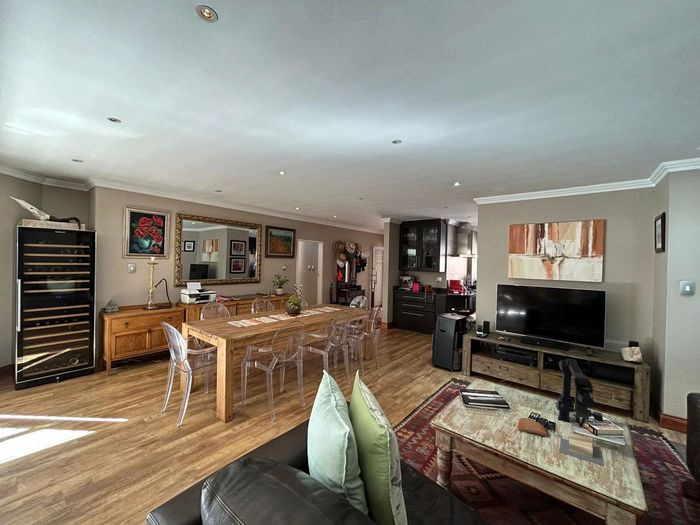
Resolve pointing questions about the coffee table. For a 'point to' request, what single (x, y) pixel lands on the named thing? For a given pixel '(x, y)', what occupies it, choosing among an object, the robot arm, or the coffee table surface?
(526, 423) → the ceramic shard
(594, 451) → the mat
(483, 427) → the coffee table surface
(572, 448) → the oak slab
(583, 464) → the coffee table surface
